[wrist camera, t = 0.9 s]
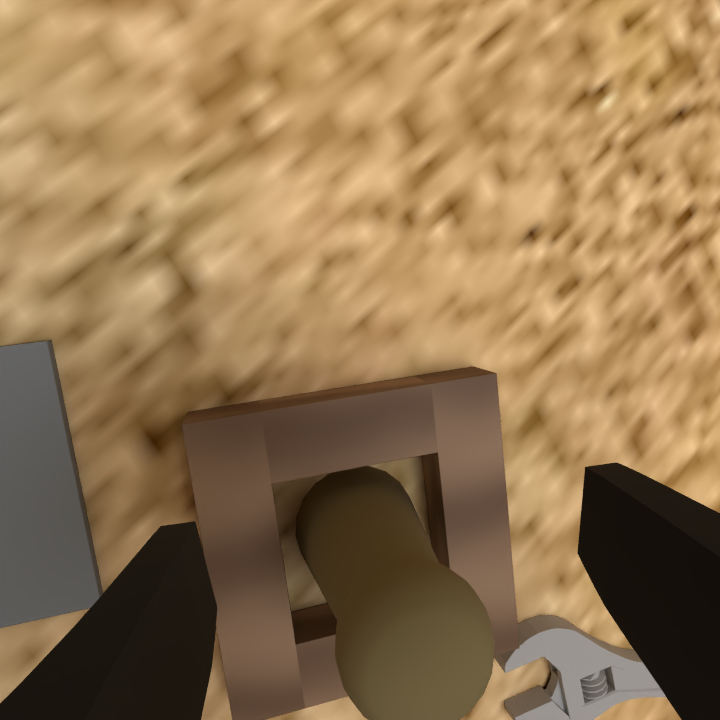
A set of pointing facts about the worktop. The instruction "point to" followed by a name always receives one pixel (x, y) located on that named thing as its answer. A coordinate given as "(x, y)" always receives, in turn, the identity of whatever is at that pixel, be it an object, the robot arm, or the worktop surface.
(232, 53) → the worktop surface
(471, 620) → the olive brown rounded piece
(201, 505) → the walnut holder
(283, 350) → the worktop surface
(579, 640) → the adjustable wrench
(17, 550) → the rubber mat
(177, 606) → the robot arm
